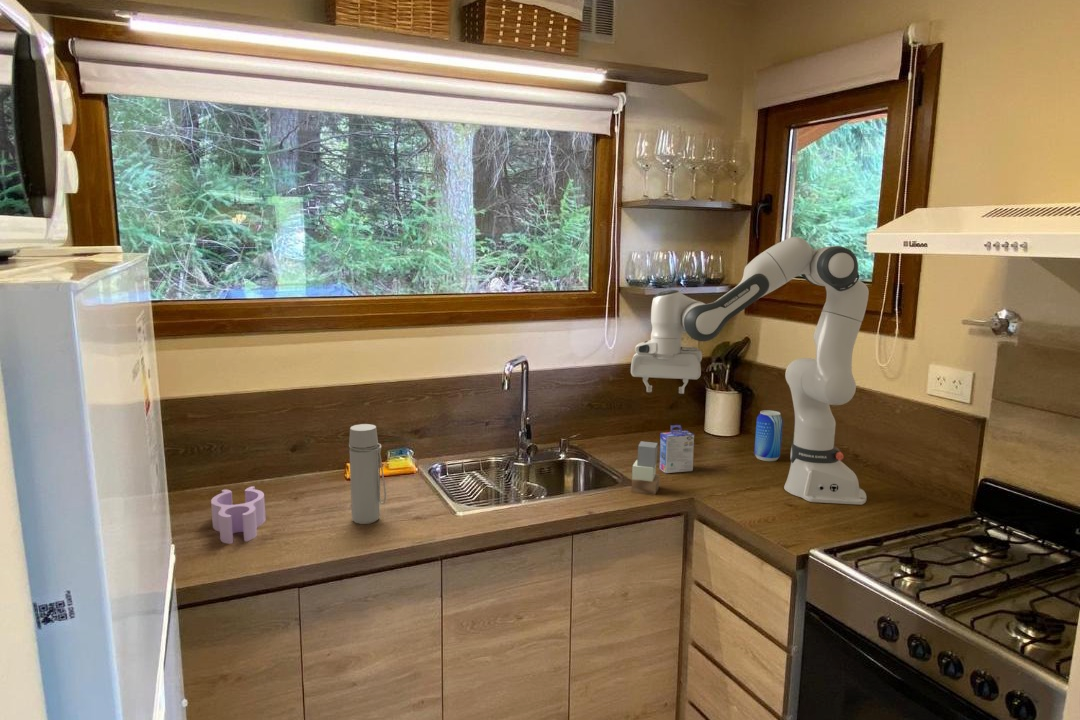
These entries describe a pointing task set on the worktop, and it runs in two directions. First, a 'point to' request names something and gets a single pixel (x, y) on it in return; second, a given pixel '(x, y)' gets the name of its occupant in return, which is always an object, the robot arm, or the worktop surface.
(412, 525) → the worktop surface
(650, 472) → the cream square block
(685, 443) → the ink cartridge box
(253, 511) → the clip
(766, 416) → the beer can
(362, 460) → the water bottle
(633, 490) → the tower base
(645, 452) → the grey block
